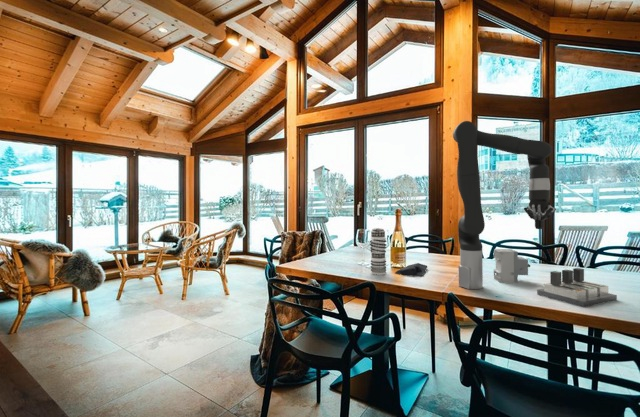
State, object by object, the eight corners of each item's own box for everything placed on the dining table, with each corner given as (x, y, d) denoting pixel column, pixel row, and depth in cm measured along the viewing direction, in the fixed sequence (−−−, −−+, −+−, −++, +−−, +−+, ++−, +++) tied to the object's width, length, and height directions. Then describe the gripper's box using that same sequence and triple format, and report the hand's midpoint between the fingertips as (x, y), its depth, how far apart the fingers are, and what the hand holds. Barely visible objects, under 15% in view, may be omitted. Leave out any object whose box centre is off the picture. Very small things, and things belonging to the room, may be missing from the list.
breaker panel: (583, 307, 115) (583, 279, 114) (537, 294, 131) (537, 270, 130) (616, 300, 122) (616, 273, 121) (569, 288, 138) (568, 265, 137)
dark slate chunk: (431, 270, 182) (431, 261, 182) (421, 278, 164) (421, 269, 164) (405, 267, 190) (405, 259, 190) (393, 274, 172) (393, 266, 172)
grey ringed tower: (390, 273, 174) (389, 228, 174) (378, 275, 169) (377, 229, 168) (378, 270, 182) (378, 227, 181) (366, 272, 176) (366, 228, 176)
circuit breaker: (532, 283, 148) (531, 251, 148) (499, 282, 151) (498, 251, 151) (525, 279, 155) (524, 249, 155) (493, 278, 158) (493, 248, 158)
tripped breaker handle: (556, 285, 125) (556, 272, 125) (550, 283, 127) (550, 271, 127) (561, 284, 126) (561, 272, 126) (555, 283, 128) (555, 271, 128)
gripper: (518, 189, 141) (518, 228, 141) (549, 188, 128) (548, 230, 129) (530, 189, 143) (530, 227, 144) (561, 188, 131) (561, 229, 131)
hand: (539, 228), depth 136 cm, fingers closed
